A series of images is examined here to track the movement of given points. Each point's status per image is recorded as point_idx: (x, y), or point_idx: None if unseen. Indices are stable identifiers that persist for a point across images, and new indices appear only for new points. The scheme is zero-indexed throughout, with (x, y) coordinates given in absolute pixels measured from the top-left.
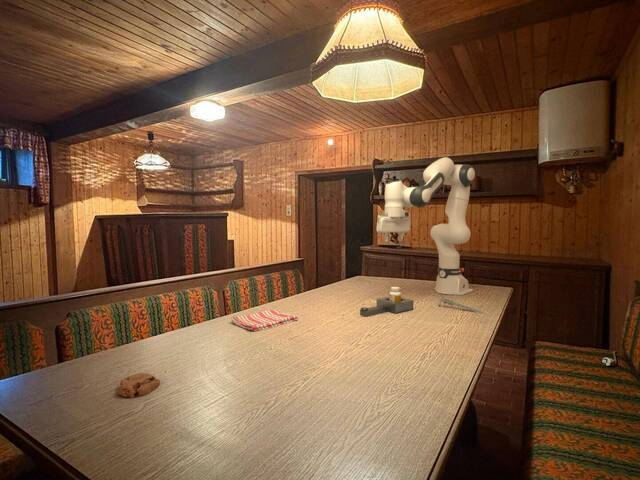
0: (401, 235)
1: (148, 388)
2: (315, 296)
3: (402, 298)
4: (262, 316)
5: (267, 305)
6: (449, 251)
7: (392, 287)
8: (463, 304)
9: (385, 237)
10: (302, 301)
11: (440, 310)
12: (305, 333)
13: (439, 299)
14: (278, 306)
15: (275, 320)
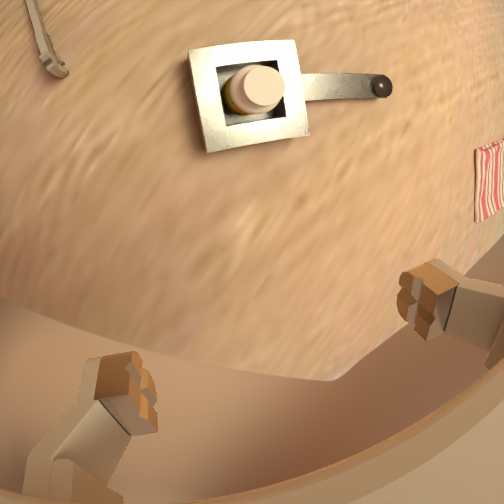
0: (86, 449)
1: None
2: (357, 329)
3: (208, 94)
4: (496, 195)
5: None
6: None
7: (275, 94)
8: (30, 15)
9: (483, 297)
10: None
11: (104, 25)
12: (484, 77)
13: (58, 67)
14: (452, 262)
15: (496, 160)
